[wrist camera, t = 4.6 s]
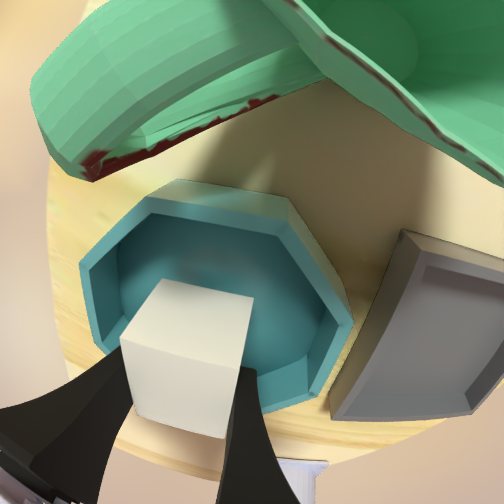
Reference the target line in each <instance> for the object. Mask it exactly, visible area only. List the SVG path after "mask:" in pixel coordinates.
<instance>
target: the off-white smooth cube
mask: <svg viewBox="0 0 504 504" xmlns="http://www.w3.org/2000/svg"><path fill="white" fill-rule="evenodd" d="M253 300H254V298H252V297H247V296H242V295H237V294H232V293H227V292H223V291H218V290H213V289H208V288H204V287H199V286H195V285H190V284H186V283H181V282H177V281H173V280H168V279H164V278H162V279H161V280H160V282H159V283H158V284H157V286H156V287H155V288H154V290H153V291H152V292H151V294H150V295H149V297H148V298H147V299H146V301H145V302H144V303H143V305H142V306H141V308H140V309H139V310H138V312H137V313H136V315H135V316H134V317H133V319H132V320H131V322H130V323H129V325H128V326H127V327H126V329H125V330H124V332H123V333H122V335H121V336H120V337H119V338H120V344H121V349H122V354H123V359H124V364H125V369H126V374H127V378H128V382H129V387H130V391H131V395H132V399H133V403H134V406H135V410H136V414H137V415H138V416H141V417H144V418H147V419H150V420H153V421H156V422H159V423H162V424H165V425H169V426H172V427H176V428H179V429H183V430H187V431H191V432H194V433H198V434H203V435H207V436H211V437H216V438H221V439H225V435H226V430H227V426H228V421H229V416H230V412H231V407H232V402H233V398H234V393H235V388H236V383H237V379H238V374H239V369H240V364H241V359H242V355H243V350H244V345H245V340H246V335H247V330H248V325H249V320H250V315H251V310H252V305H253Z"/></svg>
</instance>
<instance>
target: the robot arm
mask: <svg viewBox="0 0 504 504" xmlns="http://www.w3.org/2000/svg"><path fill="white" fill-rule="evenodd" d="M132 405H133V399H132V395H131V391H130V387H129V382H128V378H127V374H126V369H125V364H124V359H123V354H122V349H121V344H120V345H119V346H118V347H117V348H116V349H114V350H113V351H112V352H111V353H109V354H108V355H107V356H106V357H104V358H103V359H102V360H100V361H99V362H98V363H96V364H95V365H94V366H92V367H91V368H90V369H88V370H87V371H85V372H84V373H82V374H81V375H79V376H78V377H76V378H75V379H73V380H72V381H70V382H68V383H67V384H65V385H63V386H61V387H59V388H58V389H56V390H54V391H52V392H50V393H47V394H45V395H43V396H41V397H39V398H36V399H33V400H30V401H27V402H24V403H22V404H19V405H15V406H11V407H6V408H2V409H0V450H1V451H0V504H43V502H44V503H45V504H71V502H74V503H76V504H80V502H81V503H83V504H97V500H98V496H99V491H100V487H101V482H102V478H103V475H104V471H105V468H106V465H107V461H108V458H109V455H110V452H111V449H112V447H113V444H114V441H115V439H116V436H117V434H118V432H119V430H120V428H121V426H122V424H123V422H124V420H125V418H126V416H127V414H128V412H129V411H130V409H131V407H132ZM328 466H329V462H327V461H307V460H293V459H283V458H276V456H275V453H274V451H273V448H272V445H271V443H270V440H269V437H268V433H267V430H266V427H265V423H264V419H263V415H262V411H261V406H260V401H259V395H258V387H257V371H256V370H255V369H253V368H248V367H243V366H240V369H239V374H238V379H237V383H236V388H235V393H234V398H233V402H232V407H231V412H230V416H229V421H228V429H227V439H226V448H225V458H224V465H223V471H222V476H221V480H220V485H219V490H218V494H217V499H216V504H315V478H316V477H317V476H318V475H319V474H320V473H321V472H322V471H323V470H324V469H326V468H327V467H328Z"/></svg>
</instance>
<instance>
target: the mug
mask: <svg viewBox="0 0 504 504" xmlns="http://www.w3.org/2000/svg"><path fill="white" fill-rule="evenodd" d="M326 78H329V79H331V80H332V81H334V82H335V83H336V84H338V85H339V86H340V87H342V88H343V89H344V90H346V91H347V92H348V93H350V94H351V95H352V96H353V97H355V98H356V99H357V100H358V101H360V102H362V103H364V104H366V105H368V106H369V107H371V108H373V109H375V110H377V111H378V112H379V113H381V114H382V115H384V116H385V117H386V118H388V119H389V120H390V121H391V122H393V123H394V124H396V125H397V126H398V127H400V128H401V129H402V130H404V131H406V132H408V133H410V134H412V135H413V136H415V137H417V138H419V139H421V140H423V141H425V142H426V143H428V144H430V145H432V146H434V147H435V148H437V149H439V150H441V151H442V152H444V153H446V154H447V155H449V156H451V157H452V158H454V159H455V160H457V161H459V162H460V163H462V164H463V165H465V166H466V167H468V168H469V169H471V170H472V171H474V172H475V173H477V174H478V175H480V176H482V177H483V178H485V179H487V180H488V181H490V182H492V183H493V184H496V185H498V186H500V187H502V188H504V0H110V1H108V2H107V3H105V4H104V5H102V6H101V7H99V8H98V9H97V10H95V11H94V12H93V13H92V14H90V15H89V16H88V17H87V18H86V19H85V20H84V21H83V22H82V23H81V24H80V25H79V26H78V27H77V28H76V29H75V30H74V31H73V32H72V33H71V34H70V35H69V36H68V37H67V38H66V39H65V40H64V41H63V42H62V43H61V44H60V45H59V46H58V47H57V48H56V50H55V51H54V52H53V53H52V54H51V55H50V56H49V57H48V58H47V60H46V61H45V62H44V63H43V65H42V66H41V67H40V68H39V69H38V71H37V72H36V73H35V75H34V76H33V78H32V81H31V86H30V95H31V104H32V107H33V110H34V113H35V116H36V119H37V122H38V125H39V127H40V130H41V133H42V136H43V138H44V141H45V144H46V146H47V149H48V151H49V154H50V155H51V156H52V158H53V159H54V160H55V161H56V163H57V164H58V165H59V166H60V167H61V168H62V169H63V170H64V171H65V172H66V173H67V174H68V175H70V176H73V177H76V178H79V179H82V180H85V181H89V182H92V183H93V182H95V181H97V180H99V179H101V178H103V177H106V176H108V175H110V174H112V173H114V172H116V171H119V170H121V169H123V168H125V167H128V166H130V165H132V164H135V163H137V162H140V161H142V160H144V159H147V158H150V157H154V156H156V155H158V154H159V153H161V152H163V151H165V150H167V149H169V148H171V147H173V146H174V145H176V144H178V143H180V142H182V141H184V140H186V139H188V138H190V137H192V136H194V135H196V134H198V133H201V132H203V131H205V130H207V129H209V128H211V127H213V126H216V125H218V124H220V123H222V122H224V121H227V120H229V119H231V118H234V117H236V116H238V115H241V114H243V113H245V112H248V111H250V110H252V109H254V108H257V107H259V106H261V105H263V104H265V103H267V102H270V101H272V100H274V99H276V98H279V97H281V96H283V95H286V94H288V93H290V92H293V91H295V90H298V89H300V88H302V87H305V86H307V85H310V84H313V83H315V82H318V81H320V80H323V79H326Z"/></svg>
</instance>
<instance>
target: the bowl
mask: <svg viewBox="0 0 504 504" xmlns="http://www.w3.org/2000/svg"><path fill="white" fill-rule="evenodd" d="M79 269H80V276H81V282H82V288H83V294H84V299H85V305H86V310H87V314H88V319H89V323H90V328H91V332H92V336H93V340H94V343H95V344H96V345H97V346H98V347H99V348H100V349H101V350H102V351H103V352H104V353H105V354H106V355H108V354H109V353H111V352H112V351H113V350H114V349H116V348H117V347H118V346H119V345H120V338H119V337H120V336H121V335H122V333H123V332H124V330H125V329H126V327H127V326H128V325H129V323H130V322H131V320H132V319H133V317H134V316H135V315H136V313H137V312H138V310H139V309H140V308H141V306H142V305H143V303H144V302H145V301H146V299H147V298H148V297H149V295H150V294H151V292H152V291H153V290H154V288H155V287H156V286H157V284H158V283H159V282H160V280H161V279H162V278H164V279H168V280H173V281H177V282H181V283H186V284H190V285H195V286H199V287H204V288H208V289H213V290H218V291H223V292H227V293H232V294H237V295H242V296H247V297H252V298H254V300H253V305H252V310H251V315H250V320H249V325H248V330H247V335H246V340H245V345H244V350H243V355H242V359H241V364H240V366H243V367H248V368H253V369H255V370H256V371H257V387H258V395H259V401H260V406H261V411H262V414H266V413H269V412H273V411H276V410H279V409H282V408H286V407H289V406H292V405H295V404H298V403H301V402H304V401H307V400H309V399H312V398H315V397H317V396H318V395H319V393H320V391H321V389H322V387H323V386H324V384H325V382H326V380H327V378H328V376H329V374H330V372H331V370H332V368H333V366H334V364H335V362H336V360H337V358H338V356H339V354H340V352H341V350H342V348H343V346H344V344H345V342H346V340H347V338H348V335H349V333H350V331H351V329H352V327H353V324H354V320H353V316H352V312H351V309H350V305H349V302H348V298H347V295H346V291H345V288H344V284H343V282H342V280H341V279H340V277H339V275H338V274H337V272H336V270H335V269H334V267H333V266H332V264H331V263H330V261H329V259H328V258H327V256H326V255H325V253H324V251H323V250H322V248H321V247H320V245H319V244H318V242H317V241H316V239H315V238H314V236H313V235H312V233H311V231H310V230H309V228H308V227H307V225H306V224H305V222H304V221H303V219H302V218H301V216H300V215H299V213H298V212H297V210H296V209H295V208H294V206H293V205H292V203H291V202H290V200H289V199H288V198H286V197H281V196H276V195H271V194H266V193H261V192H255V191H250V190H244V189H239V188H233V187H227V186H221V185H215V184H209V183H202V182H196V181H189V180H182V179H176V180H174V181H172V182H170V183H168V184H167V185H165V186H163V187H161V188H159V189H158V190H156V191H154V192H152V193H151V194H149V195H147V196H146V197H144V198H143V199H142V200H141V201H140V202H139V203H138V204H137V205H136V206H135V207H134V208H133V209H131V210H130V211H129V212H128V213H127V214H126V215H125V216H124V217H123V218H122V219H121V220H120V221H119V222H118V223H117V224H116V225H115V226H114V227H113V228H112V229H111V230H110V231H109V232H108V233H107V234H106V235H105V236H104V237H103V238H102V239H101V240H100V241H99V242H98V243H97V244H96V245H95V246H94V247H93V248H92V249H91V250H90V251H89V252H88V253H87V254H86V256H85V257H84V258H83V259H82V260H81V261H80V262H79Z"/></svg>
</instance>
